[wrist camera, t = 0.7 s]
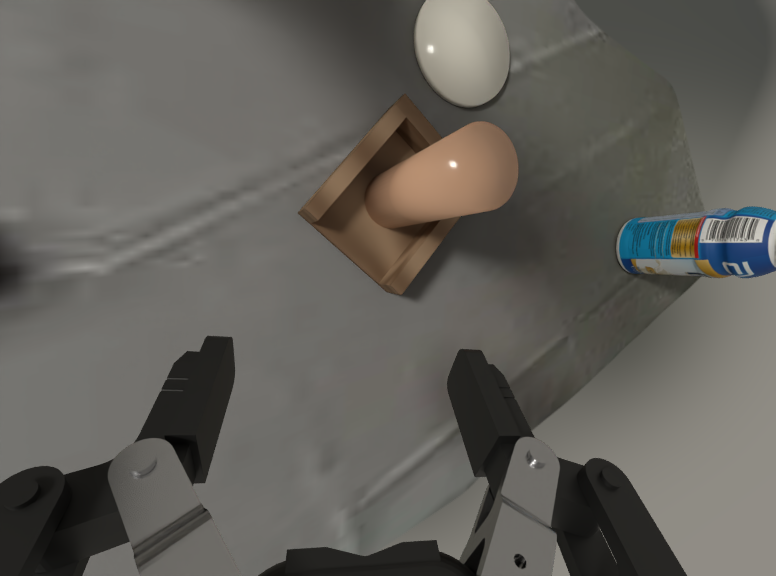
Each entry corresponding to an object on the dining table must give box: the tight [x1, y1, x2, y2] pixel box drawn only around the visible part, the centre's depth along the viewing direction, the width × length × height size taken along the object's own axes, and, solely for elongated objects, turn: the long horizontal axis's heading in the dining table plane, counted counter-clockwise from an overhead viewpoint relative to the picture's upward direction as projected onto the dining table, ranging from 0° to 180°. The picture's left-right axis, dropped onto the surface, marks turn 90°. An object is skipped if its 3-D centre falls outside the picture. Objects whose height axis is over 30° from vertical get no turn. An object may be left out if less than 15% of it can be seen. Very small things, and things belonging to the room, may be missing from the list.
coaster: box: [414, 0, 510, 108], centre depth 39 cm, size 12×12×1 cm
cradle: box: [298, 94, 461, 295], centre depth 36 cm, size 14×12×4 cm
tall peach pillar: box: [365, 121, 518, 229], centre depth 30 cm, size 8×6×15 cm
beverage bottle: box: [616, 207, 776, 278], centre depth 44 cm, size 8×8×20 cm
